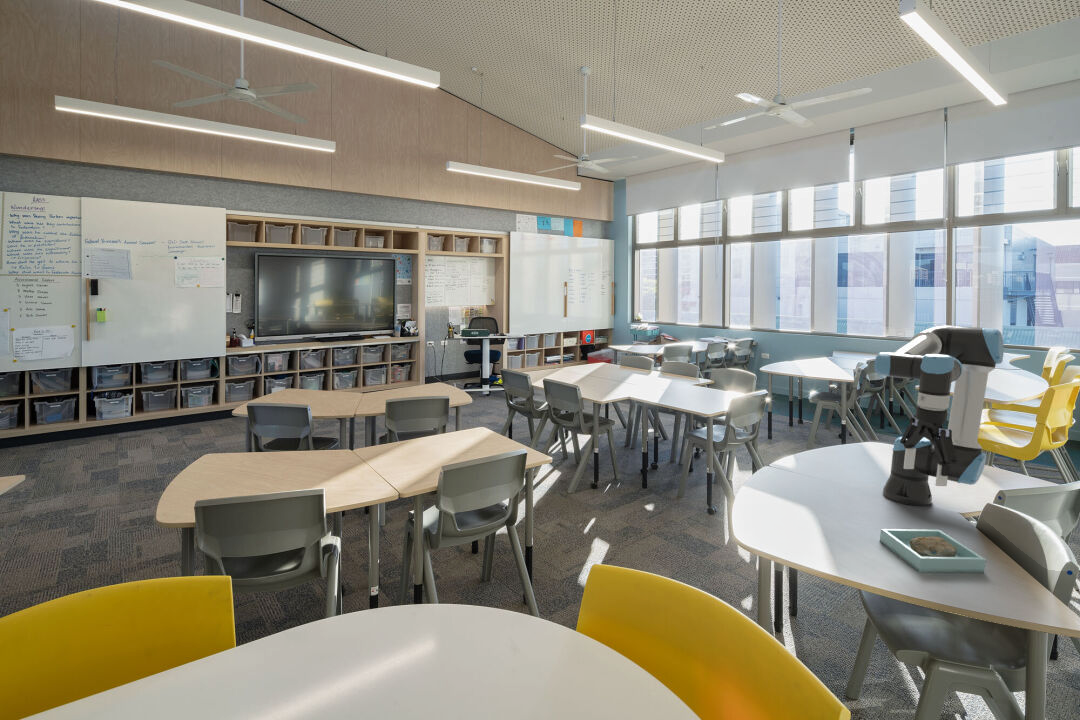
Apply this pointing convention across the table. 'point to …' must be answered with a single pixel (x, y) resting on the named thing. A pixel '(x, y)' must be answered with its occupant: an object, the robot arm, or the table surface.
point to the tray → (960, 563)
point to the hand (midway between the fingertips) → (924, 476)
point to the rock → (932, 547)
